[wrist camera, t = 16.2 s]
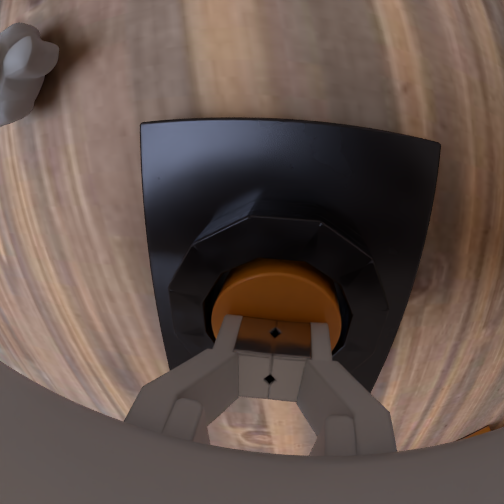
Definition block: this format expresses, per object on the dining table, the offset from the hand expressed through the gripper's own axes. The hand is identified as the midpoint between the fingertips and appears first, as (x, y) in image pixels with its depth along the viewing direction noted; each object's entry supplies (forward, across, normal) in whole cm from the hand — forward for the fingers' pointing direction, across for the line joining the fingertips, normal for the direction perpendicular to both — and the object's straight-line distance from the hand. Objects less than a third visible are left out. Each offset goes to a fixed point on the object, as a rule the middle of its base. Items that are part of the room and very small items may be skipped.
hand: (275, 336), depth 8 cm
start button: (+2, 0, 0) cm, 2 cm away
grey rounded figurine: (+4, +13, -10) cm, 17 cm away
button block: (+4, 0, 0) cm, 4 cm away
